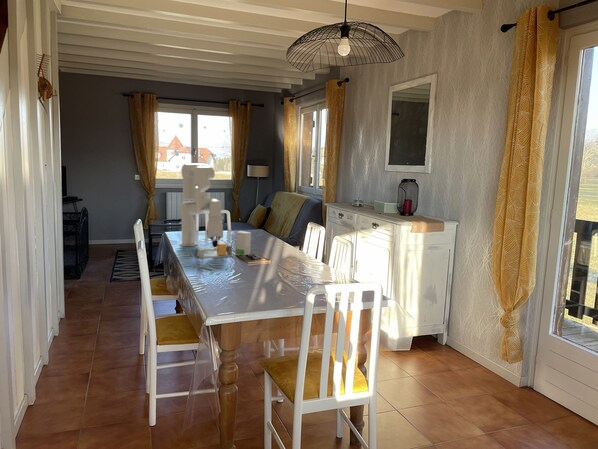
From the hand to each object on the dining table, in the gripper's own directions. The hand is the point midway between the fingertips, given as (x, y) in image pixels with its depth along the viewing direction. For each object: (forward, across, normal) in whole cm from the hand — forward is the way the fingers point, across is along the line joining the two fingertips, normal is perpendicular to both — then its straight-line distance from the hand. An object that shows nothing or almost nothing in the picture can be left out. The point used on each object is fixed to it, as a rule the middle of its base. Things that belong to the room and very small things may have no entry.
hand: (214, 246), depth 292 cm
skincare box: (+6, -18, +3) cm, 19 cm away
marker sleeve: (+6, -4, 0) cm, 7 cm away
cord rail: (+6, 0, 0) cm, 6 cm away
